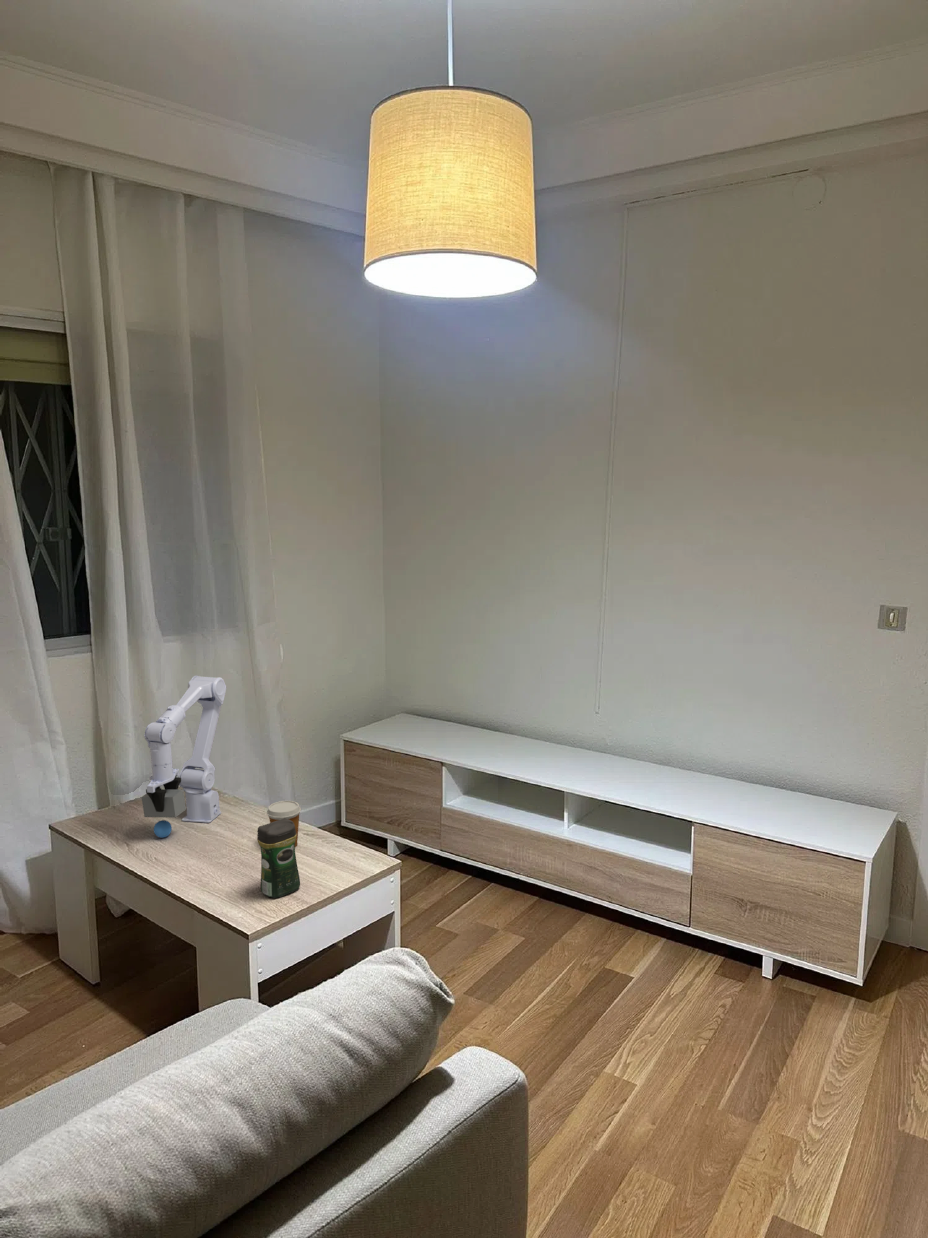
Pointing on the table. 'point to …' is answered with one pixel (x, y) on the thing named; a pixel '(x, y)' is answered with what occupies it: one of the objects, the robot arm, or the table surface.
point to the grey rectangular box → (166, 804)
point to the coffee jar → (278, 858)
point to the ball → (162, 828)
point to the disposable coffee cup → (285, 813)
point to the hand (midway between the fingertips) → (165, 807)
